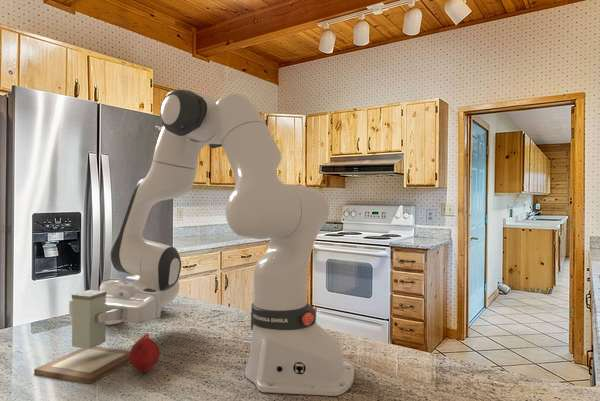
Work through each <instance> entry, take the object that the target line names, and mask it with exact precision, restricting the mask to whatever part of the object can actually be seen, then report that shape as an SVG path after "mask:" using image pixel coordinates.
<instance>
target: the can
mask: <svg viewBox="0 0 600 401" xmlns="http://www.w3.org/2000/svg"><path fill="white" fill-rule="evenodd" d="M124 284H125V283H124V279H123V278H107V279H102V280H101V284H100V285H99V291H106V292H107V295H112V294H113V292H114V291H115V289H116V288H118V287H119V286H121V285H124ZM122 323H124V321H117V320H111V321H106V326H114V325H118V324H122Z"/></svg>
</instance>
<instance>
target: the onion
mask: <svg viewBox="0 0 600 401" xmlns="http://www.w3.org/2000/svg"><path fill="white" fill-rule="evenodd" d="M129 351H130V354H129V360H130V362H129V363H130V365H131V367H132V368H133V369H134V370H136V371H138V372H140V373H143V374H146V373H148V372H149V371H150V370H151V369H153V367H154V366H155V365H156V364H158V361H159V359H160V355H161V352H160V351H161V350H160V346H159V345H158V344H157V342H156V341H155V340H153V339H151V338H150V334H149V333H143V335H142V336H141V338H140V339H138V340H137V341H136V342H135V343H133V345H132V346H131V349H130V350H129Z"/></svg>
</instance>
